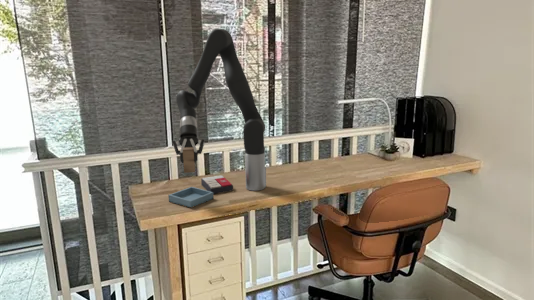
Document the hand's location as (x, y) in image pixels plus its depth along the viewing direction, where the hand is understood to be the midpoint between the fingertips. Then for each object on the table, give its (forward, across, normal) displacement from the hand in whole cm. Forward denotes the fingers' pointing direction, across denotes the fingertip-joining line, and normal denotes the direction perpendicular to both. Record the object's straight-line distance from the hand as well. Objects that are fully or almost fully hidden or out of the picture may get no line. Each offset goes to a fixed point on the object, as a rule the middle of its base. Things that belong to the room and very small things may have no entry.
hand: (188, 161), depth 168 cm
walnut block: (+2, 0, +5) cm, 5 cm away
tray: (+11, 0, +14) cm, 18 cm away
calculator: (+1, +12, +25) cm, 28 cm away
